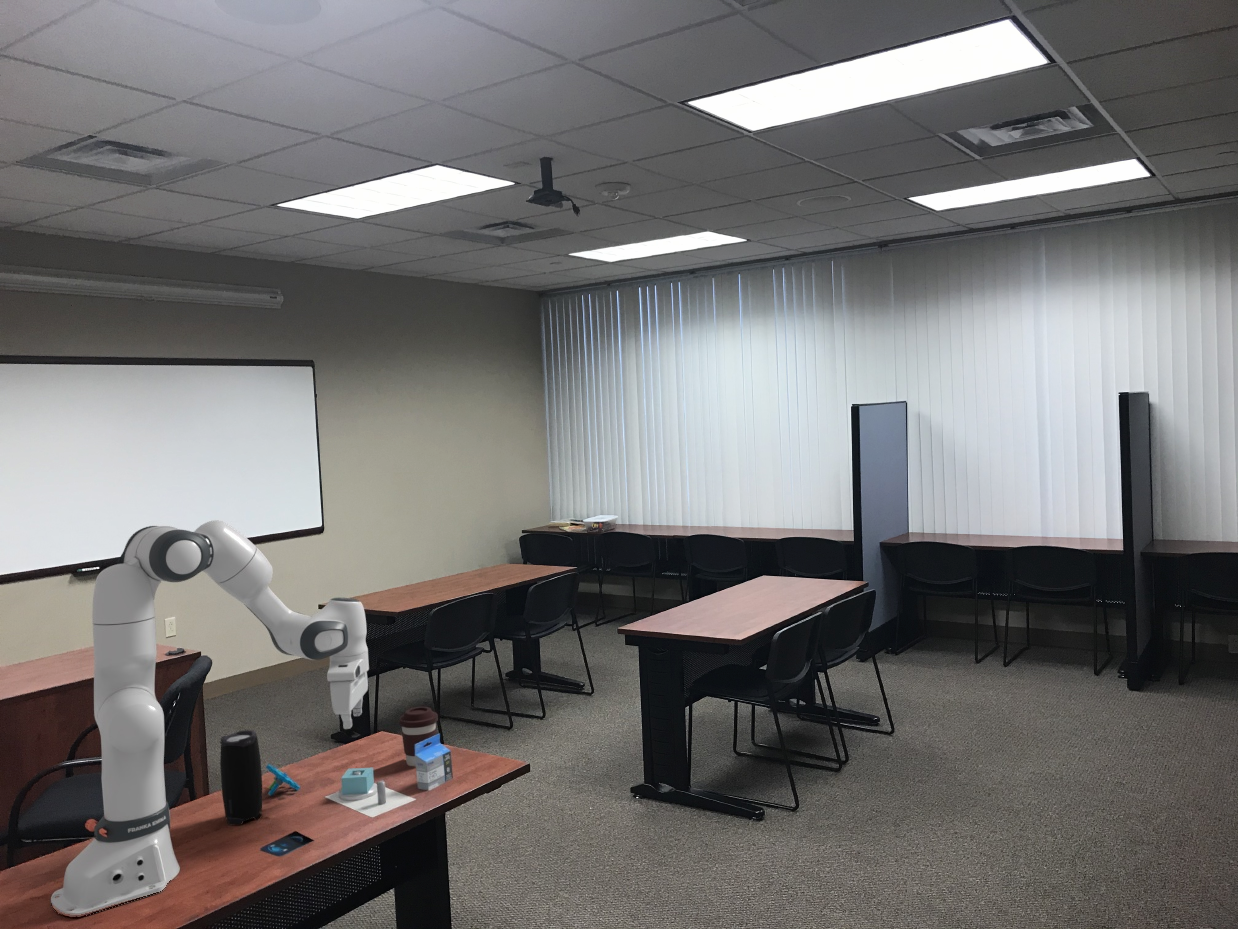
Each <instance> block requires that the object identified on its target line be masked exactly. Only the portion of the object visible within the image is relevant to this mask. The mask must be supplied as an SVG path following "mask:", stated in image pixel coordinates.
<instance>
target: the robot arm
mask: <svg viewBox="0 0 1238 929" xmlns="http://www.w3.org/2000/svg"><path fill="white" fill-rule="evenodd" d="M201 572H203V573H205V574H207V575H208V577H209V578H210V579H211V580H212V581H213V582H214V583H215V584H217V586H218V587H220V588H221V589H222V590H224V592H226V593H227V594H228V595H230V596H232V597H233V598H235V599H236V600H238V601H239V602H241V604H243V605H244V606H245V607H246V608H247V609H248V610H249V611H250V612H251V613H252V614H253V615H254V616H255V617H256V618H257V620H259V621H260V622H261V623H262V625H263V626H264V627H265V628H266V629H267V631H268V634H269V635H270V640H271V642H272V645H273V646H274V647H275V648H276V649H277V651H279V652H280V653H281V654H284V655H286V656H295V657H298V658H302V659H306V660H311V661H320V660H321V661H322V660H324V659H326V658H329V667H328V670H327V673H326V677H327V678H326V680H327V682H330V684H329V689H330V691H329V692H330V700H331V707H332V711H333V713H334V715H340V717H341V720H342V725H343V726H342V727H343V729H344V730H349V729H351V728H352V727H353V719H352V714H353V717H360V716H361V715H362V713H363V709H362V708H363V702H364V700H363V698H364V695H365V694H366V693H367V692H368V690H369V679H368V671H369V670H370V665H369V663H370V662H369V648H368V646H367V642H366V640H367V639H366V638H367V633H368V632H367V620H366V619H367V618H366V612H365V608H364V605H363V603H362V602H361V601H360V600H358V599H357V598H353V597H333V598H330V599H329V601H328V602H327V604H326V605H325V606H324V607H322V608H321V609H320V610H319V611H317V612H316V613H314V614H313V615H307V614H304V613H300V612H297V611H293V610H291V609H290V608H289V607H288V606H286V605H285V604H284V602H282V600H281V599H280V598H279V597H278V596H277V595H276V594H275V593H274V591H272V589H271V588H270V586H269V585H270V584H271V582H272V581H273V580H272V579H273V576H274V573H273V572H274V568H273V566H272V564H271V562H270V561H269V560H268V558H267V557H266V556H265V554H263V552H262V551H261V550H260V549H259V548H258V547H257V546H256V545H255V544H254V543H253V542H252V541H251V540H250V539H248V538H247V537H246V536H245V535H244V534H242V533H241V532H240V531H238V530H237V529H235V528H234V527H232V526H231V525H229V524H228V523H226V522H224V521H223V520H216V519H215V520H211V521H206V522H205V523H203V524H200V526H198V527H197V528H196V529H195V530H194V531H190V530H188V529H187V530H186V529H180V528H178V527H175V526H170V525H169V526H168V525H149V526H145V527H143V528H140V529H139V530H137V531H135V532H134V533H133V534H132V535H131V536H130V537H129V538H128V540H127V542H126V544H125V547H124V550H123V551H122V553H121V555H120V557H119V558H118V561H117V564H114V565H110V566H107V567H106V568H104V569H103V570H101V572H100V573H99V574H98V575H97V576H96V580H95V585H94V589H93V597H92V611H91V612H92V616H91V617H92V639H93V660H94V662H93V664H94V667H93V668H94V670H93V671H94V672H93V711H94V712H93V713H94V714H93V716H94V720H95V723H96V725H97V727H98V730H99V734H100V745H101V788H102V789H101V791H102V802H103V813H104V814H103V815H102V817H101V819H99V821H97V820H96V819H94V818H90V819H87V820H86V823H85V824H84V826H85V829H86V830H88V831H89V832H93V833H94V838H93V839H92V840H91V842H90V843H89V844H88V845H87V846H86V847H85V848H84V849H82V851H81V852H80V853H78V854H77V856H75V857H74V859H72V860H71V861H70V862H69V864H68V865H67V867H66V868H65V873H64V877H63V886H62V887H61V888H59V889H57V890H55V891H54V892H53V893H52V895H51V897H50V904H51V903H52V905H53V906H54V907H55V908H56V909H57V910H59V911H60V912H62V913H65V914H70V915H81V914H85V913H89V912H92V911H96V910H99V909H102V908H105V907H108V906H111V905H114V904H118V903H121V902H125V901H128V900H132V899H136V898H139V897H143V896H146V897H148V896H147V895H150V894H153V893H156V892H159V893H161V892H163V891H164V890H165V889H166V888H165V887H167V886H168V884H167V883H170V882H171V881H173V879H175V878H176V877H177V876H178V874H179V873H180V871H181V870H180V869H181V867H180V865H179V862H178V860H177V857H176V855H175V852H174V849H173V848H174V847H173V843H172V840H171V833H170V829H171V812H170V806H169V802H168V801H167V799H166V786H165V785H166V783H165V771H164V770H165V768H164V759H165V758H164V757H165V715H164V711H163V707H162V705H161V704H160V702H158V699H157V697H156V693H155V692H156V691H155V690H156V689H155V683H156V682H155V680H156V679H155V678H156V677H155V676H156V663H157V656H158V652H157V648H158V647H157V629H156V611H155V610H156V608H155V596H156V593H157V589H158V587H159V586H160V584H161V583H162V582H167V583H180V582H181V583H182V582H185V581H188V580H191V579H192V578H194V577H195V576H197V575H199V573H201ZM170 880H171V881H170ZM169 881H170V882H169ZM166 885H167V886H166ZM164 888H165V889H164ZM163 889H164V890H163ZM162 890H163V891H162ZM160 891H161V892H160ZM156 894H157V893H156ZM153 895H154V894H153ZM150 896H151V895H150ZM56 897H58V898H56ZM143 898H144V897H143ZM71 910H72V911H71Z"/></svg>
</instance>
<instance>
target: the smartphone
mask: <svg viewBox="0 0 1238 929" xmlns="http://www.w3.org/2000/svg"><path fill="white" fill-rule="evenodd" d="M314 841H315V839H313V838H310V837H309V836H306V835H305V834H303V833H300V832H299V831H296V830H294V831H293V832H290V833H288V834H286V835H284V836H282V837H280V838H278V839H275V840H274V841H272V842H270V843H268V844H266V845H263V846H261V847H260V848H259V850H260V851H261V852H264V853H267V854H270V855H273V856H275V857H283V856H286V855H288V854H290V853H291V852H294V851H296V850H298V849H300V848H302V847H304V846H306V845H308V844H310V843H312V842H314Z"/></svg>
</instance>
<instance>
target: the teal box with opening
mask: <svg viewBox="0 0 1238 929" xmlns="http://www.w3.org/2000/svg"><path fill="white" fill-rule="evenodd" d="M357 771H360V772H361V775H353V773H354V772H357ZM374 783H375V780H374V767H357V768H347V770H346V771H345V773H344V774H343V775H342V777H341V778H340V784H341V788H342V795H349V794H367V793H368V792H369V790H370V789H371V787H372V786H373V784H374Z"/></svg>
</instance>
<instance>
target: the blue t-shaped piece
mask: <svg viewBox="0 0 1238 929" xmlns="http://www.w3.org/2000/svg"><path fill="white" fill-rule="evenodd" d="M265 768H266V769H267V770H268V771H269V772H270V773H271V774H273V775H274V776H275V777H273V782H272V783H271V784H270V785H269V787H268V789H270V790H269V792H268V793H267V794H268V795H269V796H273V794H274V793H275V792H276V790H278V788H279V787H280V786H282V785H283V784H284V783H285V784H288V785H289V787H290V788H292V789H295V790H296V791H299V790H300V788H301V786H300V785H298V783H297V782H295V781H294V780H292V778H290V777H289V776H288V774H287V773H286V772H283V771H281V770H280V769H277V768H276V767H274V766H272V765H271V764H267V766H266V767H265Z"/></svg>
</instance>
